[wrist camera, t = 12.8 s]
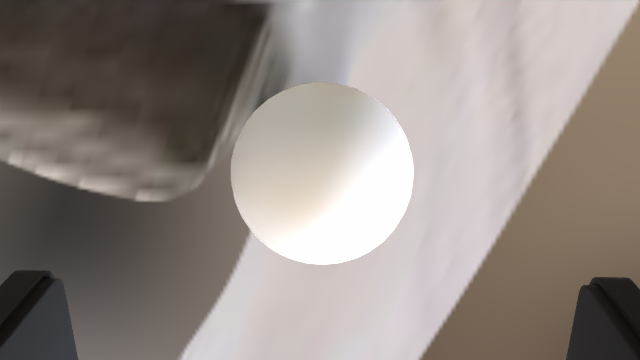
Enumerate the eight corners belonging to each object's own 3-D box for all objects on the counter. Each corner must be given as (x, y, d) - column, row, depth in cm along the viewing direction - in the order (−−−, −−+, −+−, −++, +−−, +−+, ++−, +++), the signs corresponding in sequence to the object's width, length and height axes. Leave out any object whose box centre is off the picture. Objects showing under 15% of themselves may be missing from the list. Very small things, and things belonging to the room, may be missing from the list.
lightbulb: (410, 139, 28) (455, 260, 18) (292, 187, 29) (272, 327, 19) (359, 17, 26) (378, 76, 16) (234, 74, 27) (177, 163, 17)
